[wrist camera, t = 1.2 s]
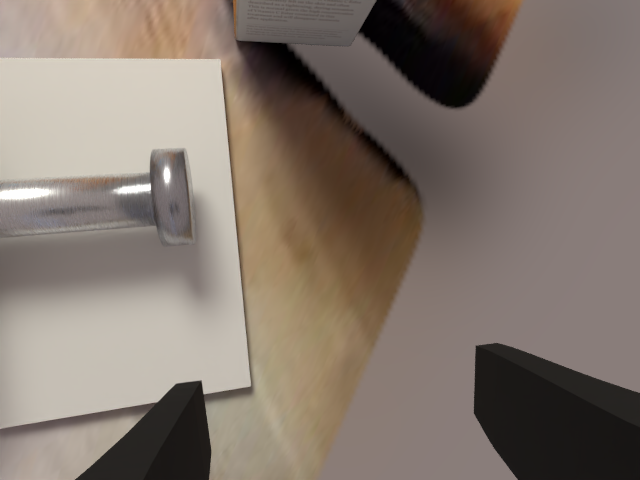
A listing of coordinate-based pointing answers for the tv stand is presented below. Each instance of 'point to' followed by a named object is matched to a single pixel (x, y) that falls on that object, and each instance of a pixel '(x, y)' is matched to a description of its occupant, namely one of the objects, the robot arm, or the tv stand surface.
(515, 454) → the robot arm
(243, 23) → the small box
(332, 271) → the tv stand surface
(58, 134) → the board
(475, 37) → the tv stand surface
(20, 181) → the pin
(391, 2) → the tv stand surface
